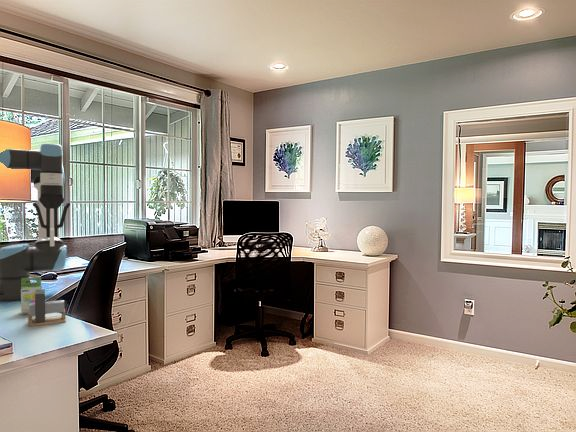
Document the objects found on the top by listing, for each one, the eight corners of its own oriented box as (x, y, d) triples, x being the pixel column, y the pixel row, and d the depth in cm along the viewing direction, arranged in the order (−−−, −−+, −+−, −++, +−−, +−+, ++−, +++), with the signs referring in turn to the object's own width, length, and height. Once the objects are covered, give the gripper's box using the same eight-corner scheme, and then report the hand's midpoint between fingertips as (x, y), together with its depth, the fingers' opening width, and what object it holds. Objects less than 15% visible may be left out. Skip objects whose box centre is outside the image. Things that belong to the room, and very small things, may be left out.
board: (28, 320, 157) (28, 311, 157) (64, 316, 163) (64, 308, 163) (28, 326, 150) (28, 317, 150) (65, 321, 156) (65, 313, 156)
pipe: (29, 313, 156) (29, 302, 155) (63, 309, 161) (63, 299, 161) (29, 316, 152) (29, 305, 152) (64, 312, 158) (64, 301, 157)
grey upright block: (35, 317, 158) (35, 290, 158) (44, 316, 160) (44, 289, 159) (35, 322, 151) (35, 294, 151) (45, 321, 153) (44, 293, 152)
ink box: (21, 314, 165) (20, 279, 164) (21, 312, 168) (21, 278, 167) (42, 312, 168) (41, 278, 168) (42, 310, 172) (41, 276, 171)
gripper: (31, 184, 159) (32, 247, 160) (71, 185, 166) (71, 246, 167) (32, 184, 166) (32, 245, 167) (70, 185, 172) (70, 244, 173)
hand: (52, 245), depth 167 cm, fingers closed
